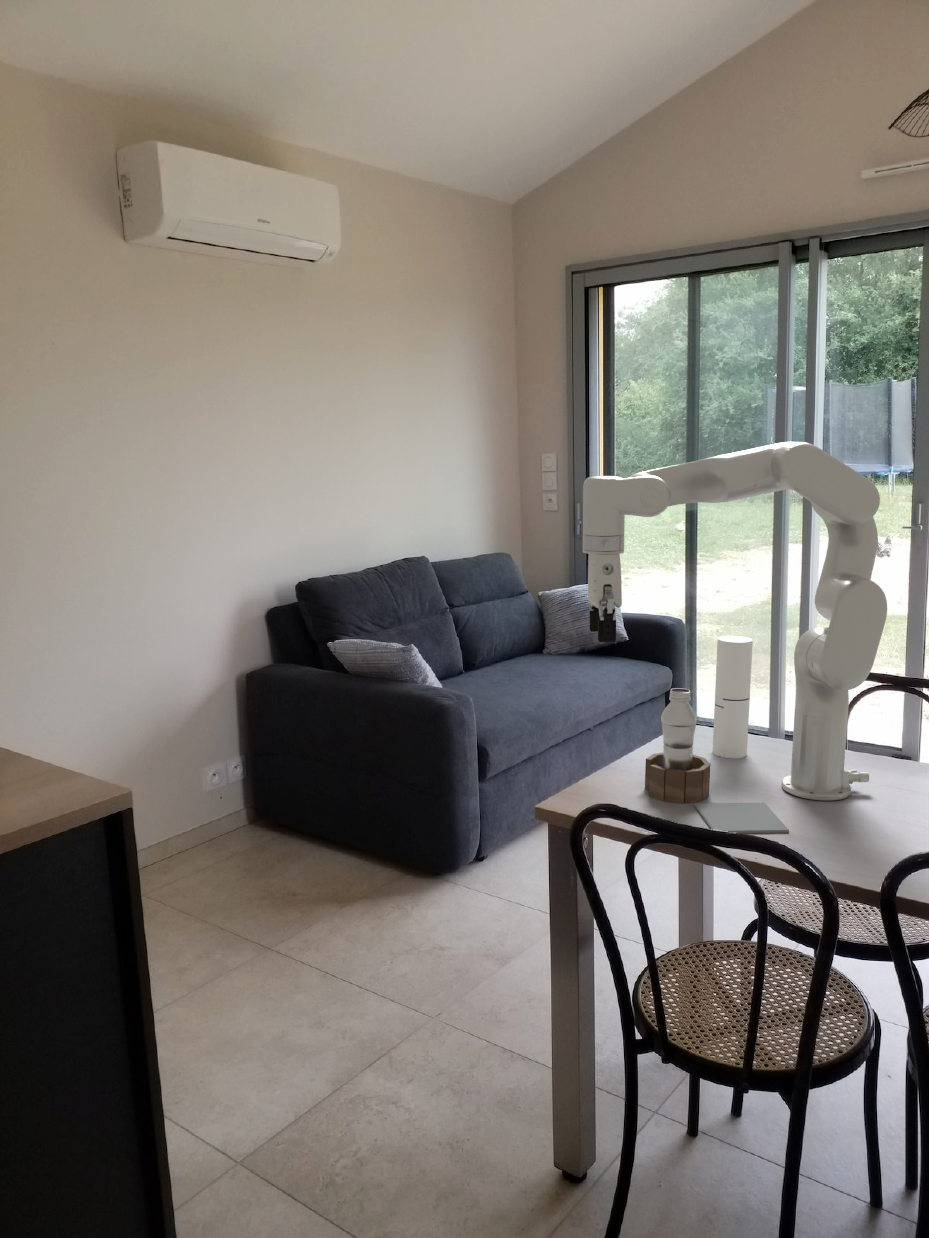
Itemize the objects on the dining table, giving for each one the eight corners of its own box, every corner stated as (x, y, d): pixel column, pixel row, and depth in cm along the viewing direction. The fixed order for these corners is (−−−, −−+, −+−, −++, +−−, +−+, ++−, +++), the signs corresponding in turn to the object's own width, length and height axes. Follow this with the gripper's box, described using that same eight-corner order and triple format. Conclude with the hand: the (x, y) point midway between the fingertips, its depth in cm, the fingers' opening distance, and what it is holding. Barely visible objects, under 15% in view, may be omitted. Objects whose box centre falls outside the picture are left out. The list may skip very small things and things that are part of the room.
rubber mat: (764, 804, 185) (764, 802, 185) (788, 832, 172) (789, 829, 172) (694, 805, 185) (694, 803, 185) (713, 833, 172) (713, 830, 172)
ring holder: (698, 780, 198) (699, 751, 197) (715, 802, 186) (716, 771, 185) (640, 781, 198) (641, 752, 197) (653, 803, 186) (654, 772, 185)
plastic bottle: (695, 798, 188) (699, 695, 185) (658, 796, 190) (662, 693, 186) (694, 787, 194) (698, 687, 191) (658, 784, 196) (662, 685, 192)
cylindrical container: (740, 760, 210) (746, 643, 206) (707, 754, 214) (712, 640, 210) (751, 751, 216) (757, 638, 212) (719, 746, 220) (724, 634, 215)
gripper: (633, 549, 174) (631, 645, 178) (615, 539, 191) (614, 627, 195) (590, 550, 174) (589, 646, 177) (576, 539, 191) (575, 627, 194)
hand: (602, 636), depth 186 cm, fingers open, 9 cm apart
